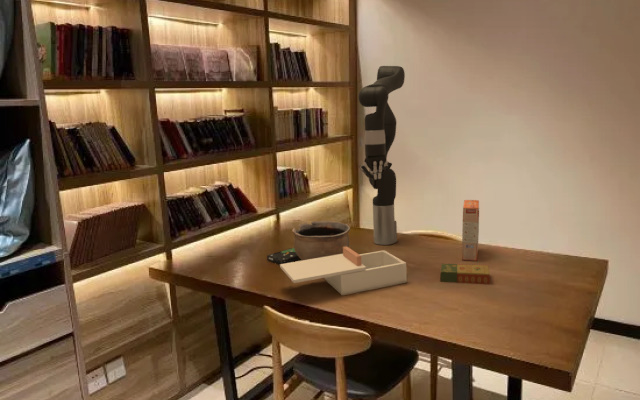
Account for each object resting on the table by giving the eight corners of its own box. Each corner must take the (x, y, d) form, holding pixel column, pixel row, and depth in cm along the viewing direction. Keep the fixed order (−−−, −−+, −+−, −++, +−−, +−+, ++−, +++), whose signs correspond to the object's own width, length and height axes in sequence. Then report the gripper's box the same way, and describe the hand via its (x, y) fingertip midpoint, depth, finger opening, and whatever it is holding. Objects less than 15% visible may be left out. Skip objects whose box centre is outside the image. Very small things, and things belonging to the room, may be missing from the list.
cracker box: (478, 261, 178) (479, 207, 173) (461, 260, 180) (462, 207, 175) (478, 250, 191) (479, 199, 186) (463, 249, 192) (463, 199, 188)
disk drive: (282, 267, 185) (310, 257, 194) (281, 260, 184) (310, 251, 194) (266, 261, 192) (295, 252, 202) (266, 255, 192) (294, 246, 201)
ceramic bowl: (317, 252, 199) (315, 217, 196) (361, 260, 186) (360, 223, 183) (283, 268, 181) (280, 231, 178) (330, 278, 169) (328, 238, 166)
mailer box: (384, 268, 176) (384, 250, 175) (406, 282, 161) (406, 263, 160) (324, 279, 168) (323, 260, 167) (341, 295, 154) (340, 275, 152)
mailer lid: (346, 255, 170) (346, 244, 169) (366, 269, 155) (365, 257, 154) (280, 267, 162) (279, 255, 161) (293, 283, 147) (293, 270, 146)
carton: (489, 285, 156) (490, 273, 155) (439, 282, 161) (439, 270, 160) (488, 276, 164) (488, 264, 163) (440, 273, 168) (440, 262, 167)
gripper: (386, 140, 179) (387, 185, 183) (354, 143, 175) (356, 189, 178) (395, 141, 172) (396, 188, 176) (363, 144, 168) (364, 192, 171)
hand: (376, 188), depth 177 cm, fingers closed
